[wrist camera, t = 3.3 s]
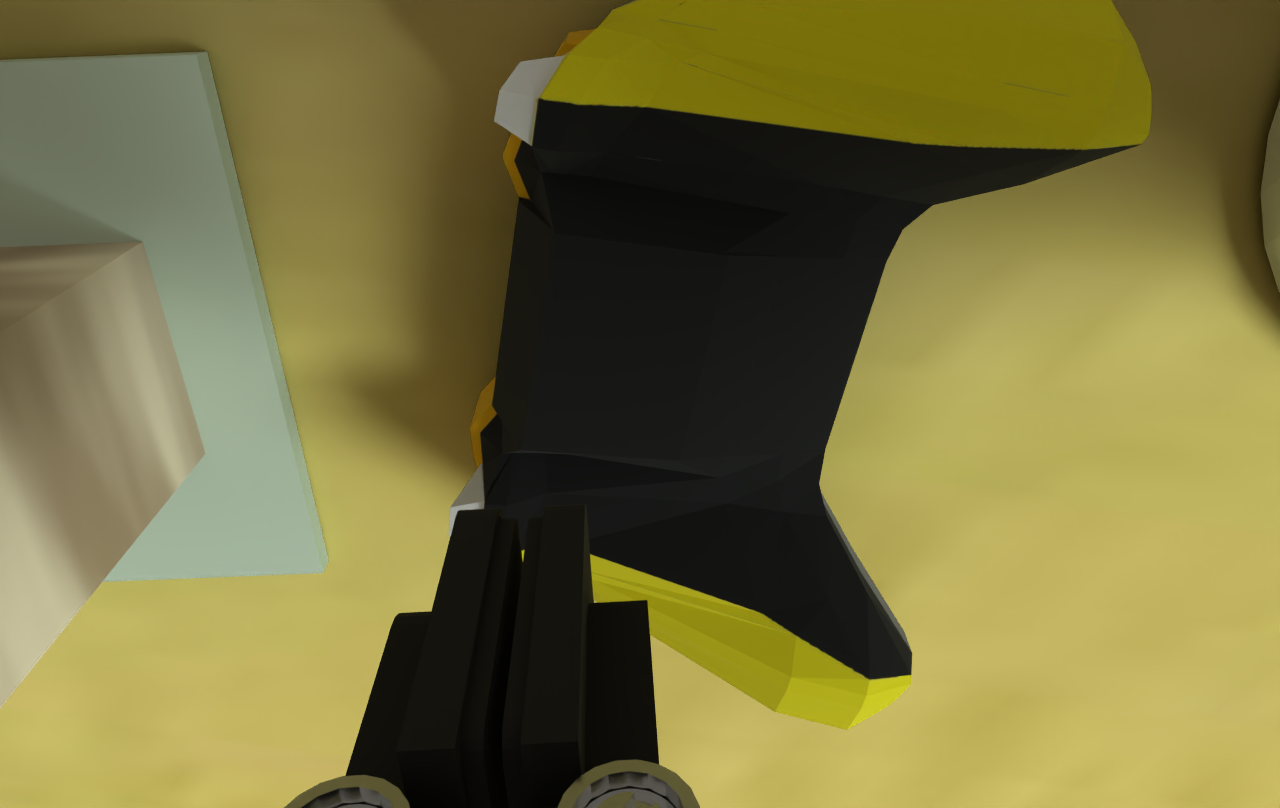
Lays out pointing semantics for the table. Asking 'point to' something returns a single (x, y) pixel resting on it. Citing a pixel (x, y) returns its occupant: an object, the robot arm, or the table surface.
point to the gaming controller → (752, 290)
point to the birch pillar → (80, 431)
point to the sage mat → (171, 289)
